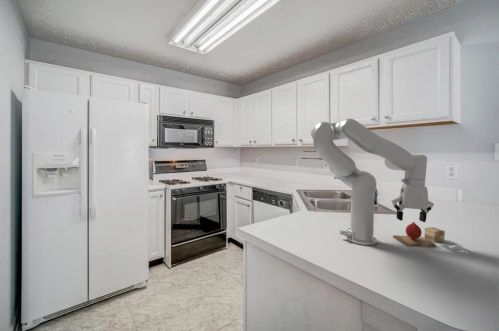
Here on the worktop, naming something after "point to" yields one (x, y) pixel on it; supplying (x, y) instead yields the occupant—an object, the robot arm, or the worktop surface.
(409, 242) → the board
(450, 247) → the tile
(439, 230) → the oak block
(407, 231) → the onion
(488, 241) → the worktop surface
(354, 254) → the worktop surface
